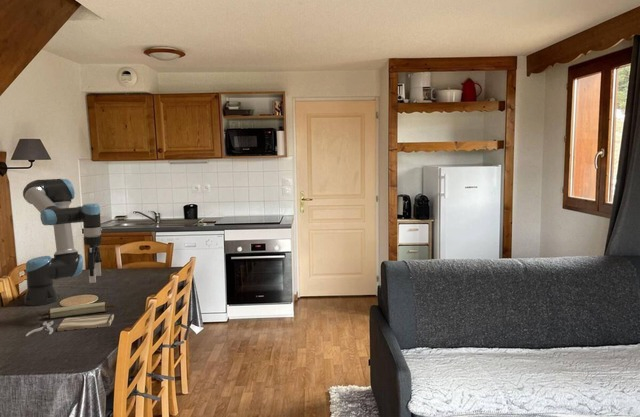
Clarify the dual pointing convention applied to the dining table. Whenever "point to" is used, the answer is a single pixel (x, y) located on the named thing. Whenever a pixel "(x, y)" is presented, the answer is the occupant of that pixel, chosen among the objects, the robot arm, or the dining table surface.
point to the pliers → (43, 327)
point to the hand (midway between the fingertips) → (95, 279)
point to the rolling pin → (77, 310)
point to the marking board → (86, 322)
